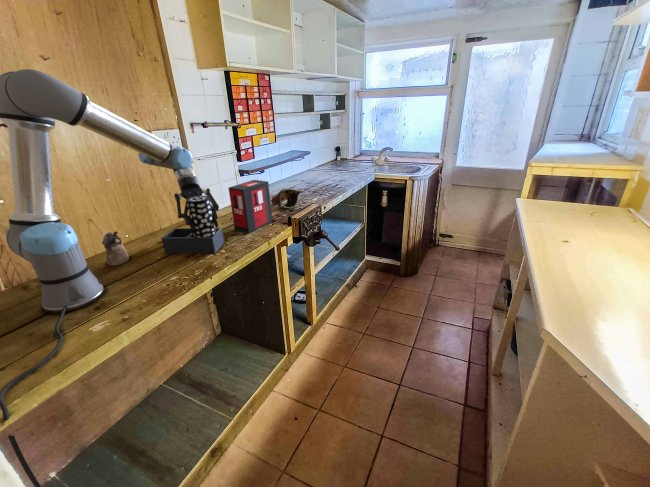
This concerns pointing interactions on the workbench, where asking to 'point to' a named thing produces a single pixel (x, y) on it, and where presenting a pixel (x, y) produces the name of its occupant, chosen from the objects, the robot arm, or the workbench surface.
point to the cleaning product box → (250, 205)
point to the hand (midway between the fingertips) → (205, 228)
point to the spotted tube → (201, 216)
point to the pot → (286, 197)
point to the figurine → (114, 249)
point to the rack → (191, 241)
